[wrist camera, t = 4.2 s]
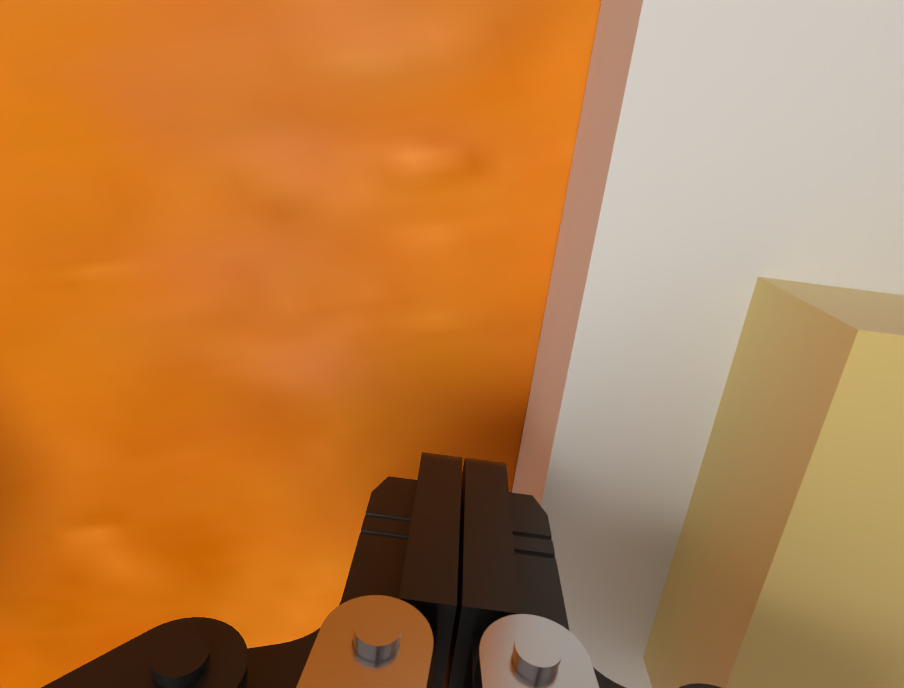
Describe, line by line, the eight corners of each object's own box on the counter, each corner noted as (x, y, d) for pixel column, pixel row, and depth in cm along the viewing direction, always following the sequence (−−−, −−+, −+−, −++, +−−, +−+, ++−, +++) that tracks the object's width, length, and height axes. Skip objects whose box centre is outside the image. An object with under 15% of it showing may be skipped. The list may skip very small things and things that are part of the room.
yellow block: (758, 276, 11) (858, 330, 8) (1088, 318, 11) (1304, 387, 8) (642, 658, 14) (686, 793, 11) (900, 689, 14) (1009, 832, 11)
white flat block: (609, -42, 13) (666, -112, 9) (1265, 45, 13) (1595, 11, 9) (479, 673, 19) (480, 804, 16) (907, 725, 20) (1011, 867, 16)
